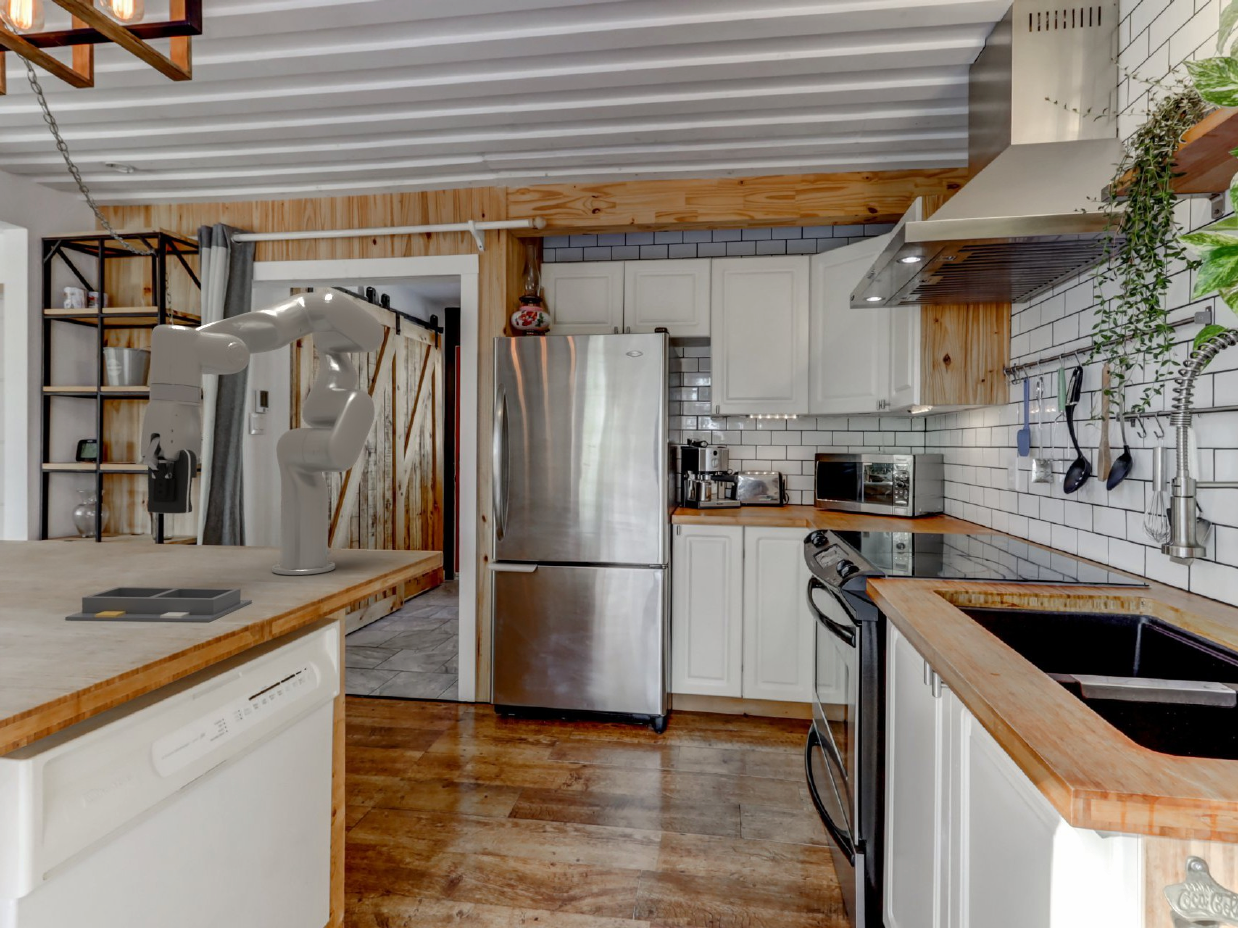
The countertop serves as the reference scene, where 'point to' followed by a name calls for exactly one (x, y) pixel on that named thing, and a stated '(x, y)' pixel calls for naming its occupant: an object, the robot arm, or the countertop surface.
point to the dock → (160, 604)
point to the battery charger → (176, 485)
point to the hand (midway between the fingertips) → (172, 500)
